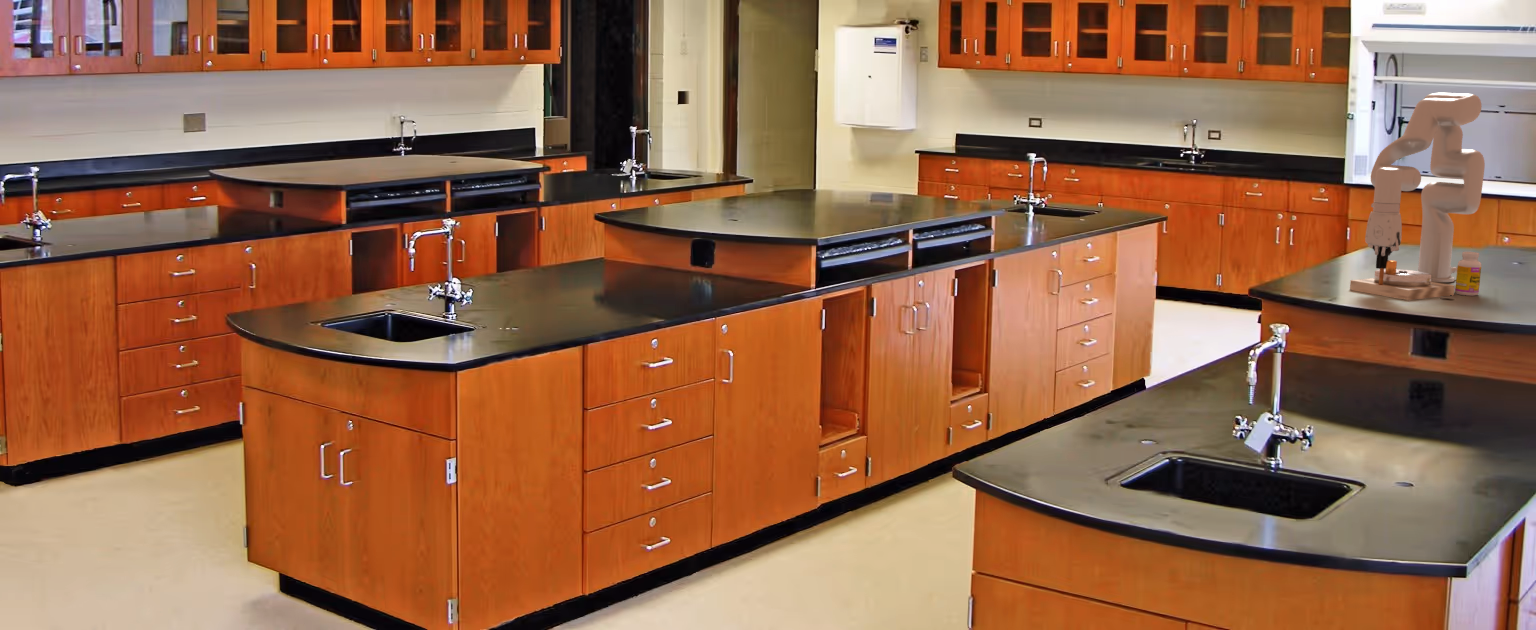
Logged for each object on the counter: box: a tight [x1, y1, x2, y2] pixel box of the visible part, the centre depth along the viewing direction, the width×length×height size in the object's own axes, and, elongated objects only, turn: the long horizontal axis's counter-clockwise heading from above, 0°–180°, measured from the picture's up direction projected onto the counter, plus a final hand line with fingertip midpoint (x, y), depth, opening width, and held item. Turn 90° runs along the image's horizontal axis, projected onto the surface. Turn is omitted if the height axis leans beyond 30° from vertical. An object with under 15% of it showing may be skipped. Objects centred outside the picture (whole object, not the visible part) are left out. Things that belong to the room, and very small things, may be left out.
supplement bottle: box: [1454, 251, 1482, 297], centre depth 473 cm, size 7×7×13 cm
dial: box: [1373, 259, 1431, 287], centre depth 474 cm, size 16×16×7 cm
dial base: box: [1349, 268, 1455, 301], centre depth 475 cm, size 21×21×8 cm
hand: (1381, 268), depth 475 cm, fingers closed
